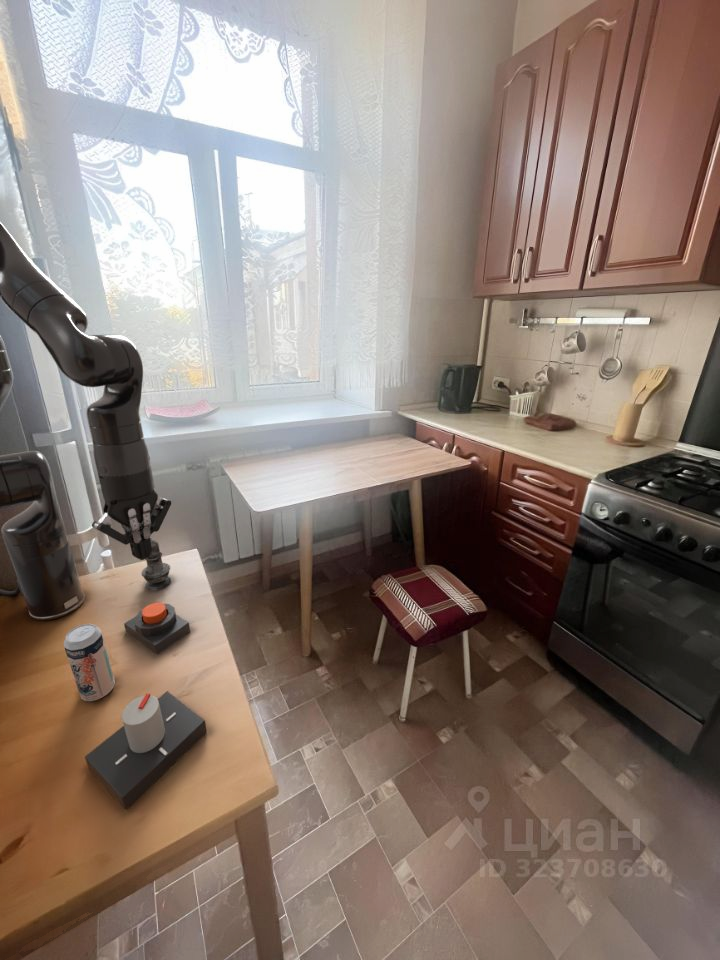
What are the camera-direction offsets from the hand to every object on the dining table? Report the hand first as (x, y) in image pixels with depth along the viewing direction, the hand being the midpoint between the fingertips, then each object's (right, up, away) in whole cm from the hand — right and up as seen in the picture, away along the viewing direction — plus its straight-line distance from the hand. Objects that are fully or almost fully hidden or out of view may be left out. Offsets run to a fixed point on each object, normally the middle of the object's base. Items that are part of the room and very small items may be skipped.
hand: (143, 557), depth 70 cm
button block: (-1, -16, +6) cm, 17 cm away
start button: (0, -12, +5) cm, 13 cm away
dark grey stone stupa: (-8, -10, +20) cm, 24 cm away
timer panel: (+9, -24, -14) cm, 30 cm away
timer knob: (+9, -22, -15) cm, 28 cm away
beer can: (-4, -21, -6) cm, 22 cm away
